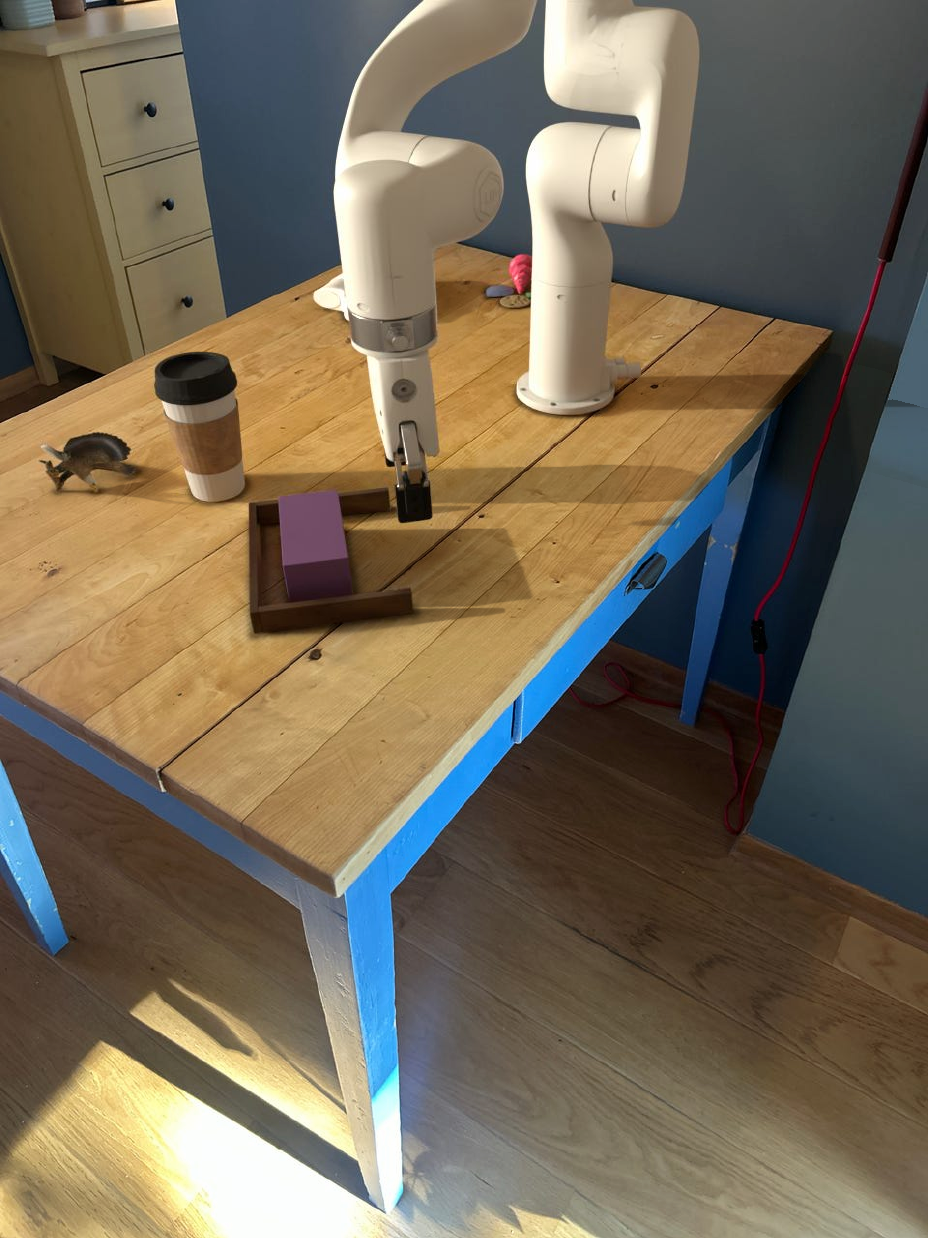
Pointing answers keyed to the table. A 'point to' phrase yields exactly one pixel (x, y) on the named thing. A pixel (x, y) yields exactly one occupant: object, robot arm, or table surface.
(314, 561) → the plum block
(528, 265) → the toy pieces
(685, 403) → the table surface
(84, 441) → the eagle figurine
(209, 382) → the coffee cup
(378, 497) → the walnut bay
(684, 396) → the table surface
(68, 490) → the table surface
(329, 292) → the white paint palette
